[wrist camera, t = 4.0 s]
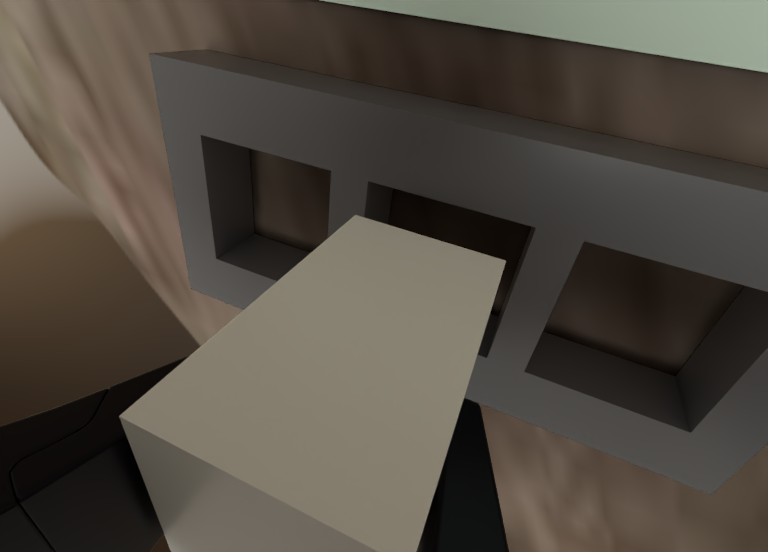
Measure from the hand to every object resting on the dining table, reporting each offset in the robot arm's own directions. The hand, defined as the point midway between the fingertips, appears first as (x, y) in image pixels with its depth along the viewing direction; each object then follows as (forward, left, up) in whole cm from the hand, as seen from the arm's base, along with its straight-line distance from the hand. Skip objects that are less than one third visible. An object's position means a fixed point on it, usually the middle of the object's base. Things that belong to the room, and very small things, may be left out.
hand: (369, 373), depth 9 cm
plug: (0, 0, -3) cm, 3 cm away
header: (0, 0, -7) cm, 7 cm away
